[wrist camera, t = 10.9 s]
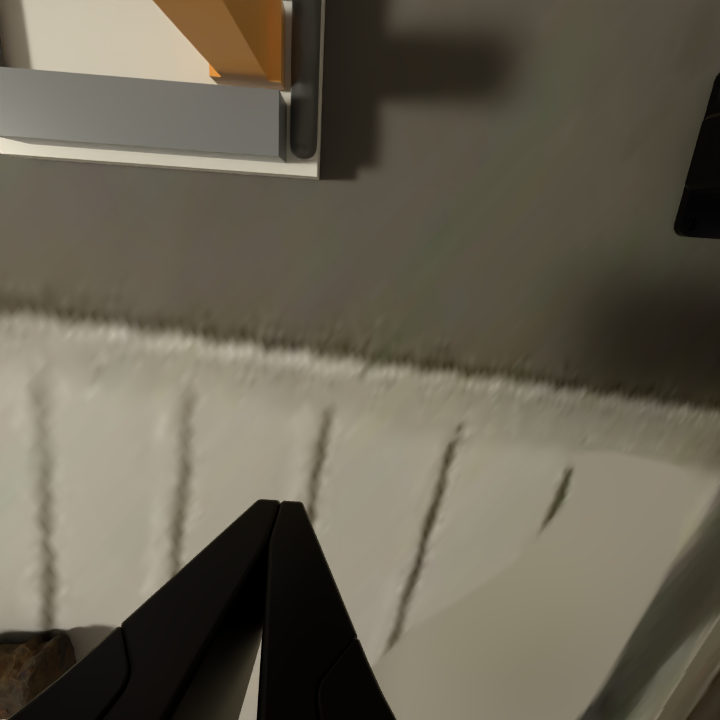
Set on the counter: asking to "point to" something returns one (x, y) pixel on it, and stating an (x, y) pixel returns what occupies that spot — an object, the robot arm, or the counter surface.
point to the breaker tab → (235, 38)
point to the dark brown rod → (31, 670)
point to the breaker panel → (126, 57)
